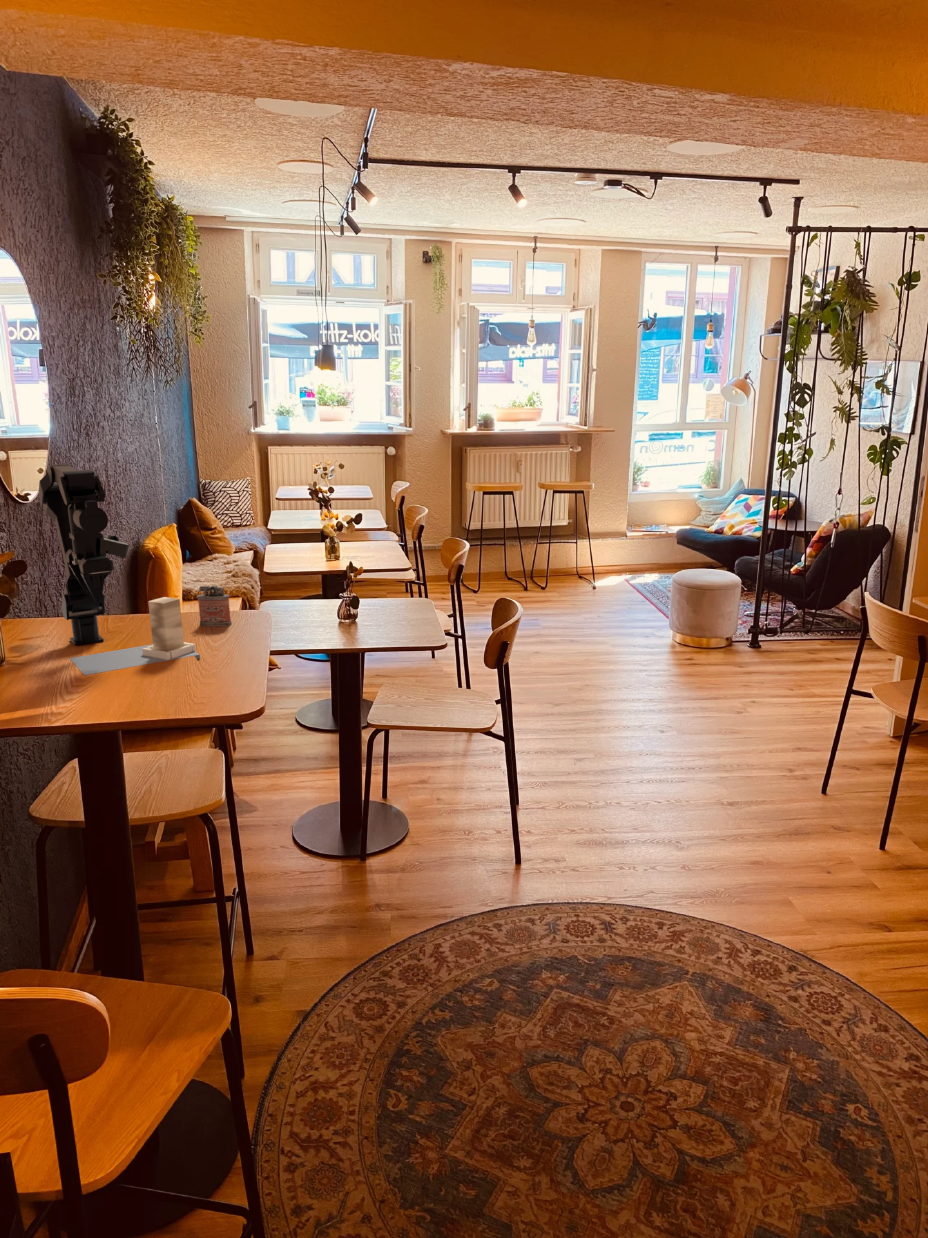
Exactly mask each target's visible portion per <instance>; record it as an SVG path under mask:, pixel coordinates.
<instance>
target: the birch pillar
mask: <svg viewBox="0 0 928 1238" xmlns="http://www.w3.org/2000/svg"><path fill="white" fill-rule="evenodd" d="M180 602H181V600H180V598H174V597H169V596H167V597H166V596H163V597H160V598H159V597H158V598H155V599H152V600H149V601H148V602H147V605H148V611H149V613H148V614H149V620H150V629H151V637H152V638H151V639H152V644H153V648H154V649H155V650H160V651H165V652H169V651H172V650H175V649H178V648H181V647H184V642H185V641H184V631H183V621H182V612H181V610H182V609H181V603H180Z"/></svg>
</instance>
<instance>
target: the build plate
mask: <svg viewBox="0 0 928 1238" xmlns="http://www.w3.org/2000/svg"><path fill="white" fill-rule="evenodd" d="M152 645H153V643H152V644H151V643H150V644H146V645H140V646H135V647H129V648H124V649H116V650H111V651H105V652H100V653H94V654H93V653H92V654H87V655H80V656H76V657H69V660H70V661H71V662H72V664H73V665H75V667H76V668H77V669H78V670H79V671H80V672H81V673H82V674H83V676H90V675H95V674H100V673H106V672H111V671H117V670H122V669H128V668H134V667H138V666H144V665H151V664H156V663H161V662H166V661H167V662H168V661H173V660H178V659H183V658H189V657H194V658H195V659H196V660H201V654H200V653H199V652H197V650H196V651H192V652H190V653H187V654H184V655H181V656H178V657H175V658H171V659H169V660H165V659H160V658H155V657H150V656H145V655H143V654H142V648H146V647H148V646H152Z"/></svg>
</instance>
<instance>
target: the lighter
mask: <svg viewBox="0 0 928 1238" xmlns="http://www.w3.org/2000/svg"><path fill="white" fill-rule="evenodd" d="M198 590H199V592H204V593H203V594H202V593H201V594H198V595H196V598H197V600H198V611H199V626H202V627H203V626H204V627H225V626H226V625H228V626H231V625H232V620H231V611H230V610H231V609H230V594H227V593H225V594H224V591H225V589H224V586H218V585H216V584H213V585H211V586H210V585H200V586H199V588H198Z"/></svg>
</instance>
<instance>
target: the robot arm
mask: <svg viewBox="0 0 928 1238" xmlns="http://www.w3.org/2000/svg"><path fill="white" fill-rule="evenodd" d="M47 467H48V469H47V473H46V474H45V475H44V476H43V477H42V478H41V479H40V480H39V484H38V485H39V486H38V497H39V502H40V504H41V505H43V508H44V512H45V514H46V515H47V516H48V517H49V518H50V519H51V520H52V521H53V522H54V523H55V528H56V531H57V537H58V540H59V544H60V549H61V554H62V557H63V562H64V567H65V571H66V574H67V581H66V583H65V585H64V589H63V594H62V596H61V597H62V598H61V599H62V600H61V607H60V608H61V611H62V617H63V618H64V619H65V620H66V621H70V622H71V629H72V630H71V631H72V637H70V638H69V641H71V643H72V644H73V645H74V646H81V645H82V646H83V645H87V644H93V643H101V642H105V641H104V638H103V637H102V636H101V634H100V631H99V621H98V616H103V615H105V614H106V608H105V606H106V605H105V603H106V595H105V594H104V592H103V591H104V586H105V580H106V579H107V577H108V576H109V575H110V574H112V573H113V571H114V570H115V567H114V561H113V560H111V558H109V557H107V555H112V556H116V557H119V558H121V559H127V556H128V552H129V547H130V544H128V543H126V542H123V541H120V539H119V536H116V535H114V534H109V535H108V536H107V537H105V536H104V534H103V533H102V532H103V531H104V530H105V529H106V528H107V527H108V525H109V524H108V523H109V516H108V514H107V513H106V512H105V510H104V509H102V508H101V507H99V506H98V503H104V502H105V498H106V491H105V490H104V486H103V483H102V481H101V479H100V478H99V475H97V474H95V471H94V470H93V469H91V468H90V469H79V470H78V469H76V468H75V467H74V466H73V464H69V463H65V464H64V463H63V464H52V465H49V466H47Z"/></svg>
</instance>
